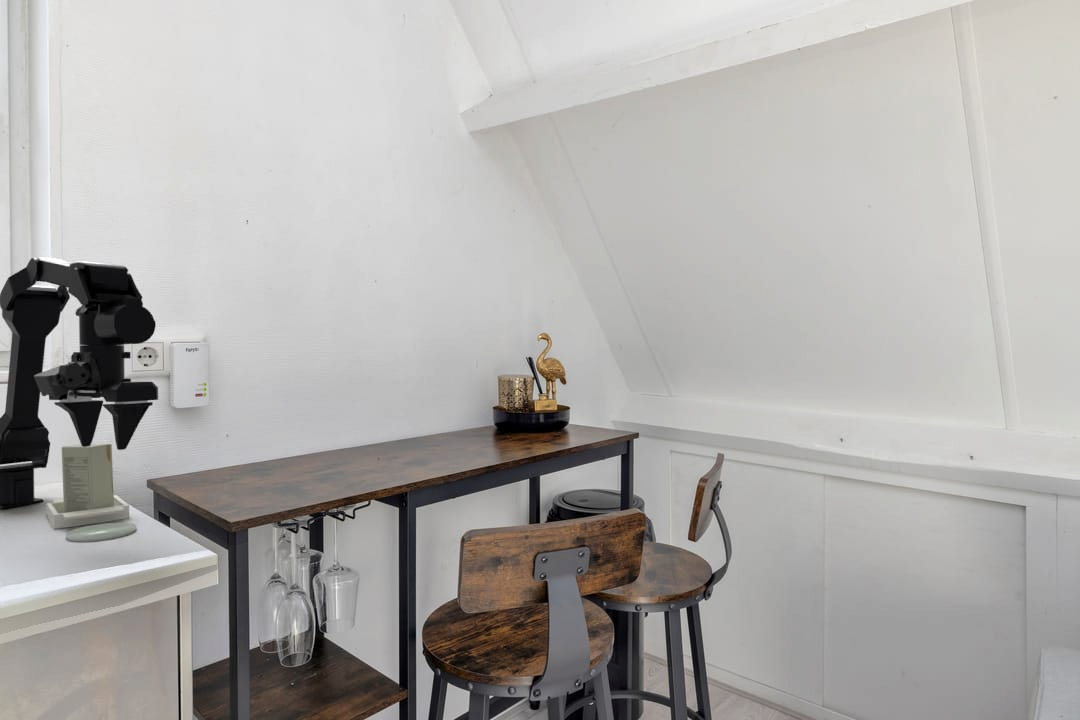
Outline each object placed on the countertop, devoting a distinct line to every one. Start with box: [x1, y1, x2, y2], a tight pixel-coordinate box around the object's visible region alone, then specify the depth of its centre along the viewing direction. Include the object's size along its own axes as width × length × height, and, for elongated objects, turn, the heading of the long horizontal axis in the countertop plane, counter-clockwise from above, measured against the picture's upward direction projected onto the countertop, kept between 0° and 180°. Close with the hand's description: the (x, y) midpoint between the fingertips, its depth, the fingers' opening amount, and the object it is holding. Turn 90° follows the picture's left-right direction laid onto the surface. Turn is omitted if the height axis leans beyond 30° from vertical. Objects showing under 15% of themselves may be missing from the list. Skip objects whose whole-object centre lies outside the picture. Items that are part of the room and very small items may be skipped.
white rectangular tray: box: [45, 494, 130, 530], centre depth 115 cm, size 18×10×2 cm, turn 41°
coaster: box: [65, 522, 137, 543], centre depth 104 cm, size 9×9×1 cm
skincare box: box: [61, 443, 115, 513], centre depth 115 cm, size 6×4×12 cm
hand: (103, 447), depth 104 cm, fingers open, 9 cm apart
